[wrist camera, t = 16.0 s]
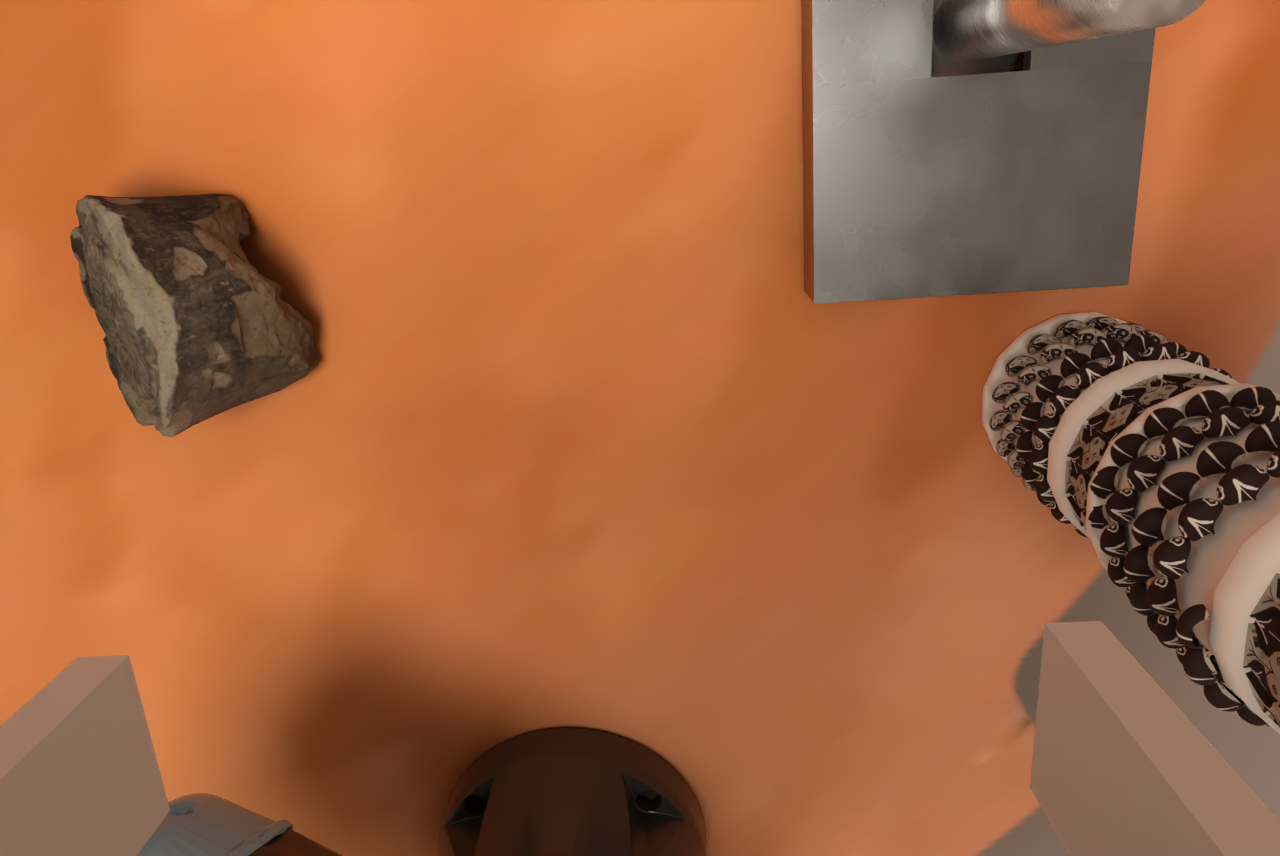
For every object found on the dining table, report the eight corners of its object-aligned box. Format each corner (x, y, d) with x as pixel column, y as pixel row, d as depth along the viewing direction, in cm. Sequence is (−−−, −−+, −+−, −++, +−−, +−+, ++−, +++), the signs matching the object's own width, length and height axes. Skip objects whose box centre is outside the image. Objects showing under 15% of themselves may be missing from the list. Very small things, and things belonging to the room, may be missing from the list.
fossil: (28, 253, 42) (-44, 220, 33) (214, 166, 45) (196, 114, 35) (167, 451, 45) (136, 473, 35) (334, 358, 47) (347, 357, 38)
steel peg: (1017, 89, 38) (1259, 71, 22) (893, 98, 39) (1044, 86, 23) (1025, -47, 37) (1294, -172, 21) (896, -37, 37) (1061, -152, 21)
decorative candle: (1141, 498, 44) (1669, 937, 21) (953, 477, 44) (1266, 890, 21) (1198, 316, 41) (1895, 585, 18) (997, 293, 41) (1422, 531, 18)
